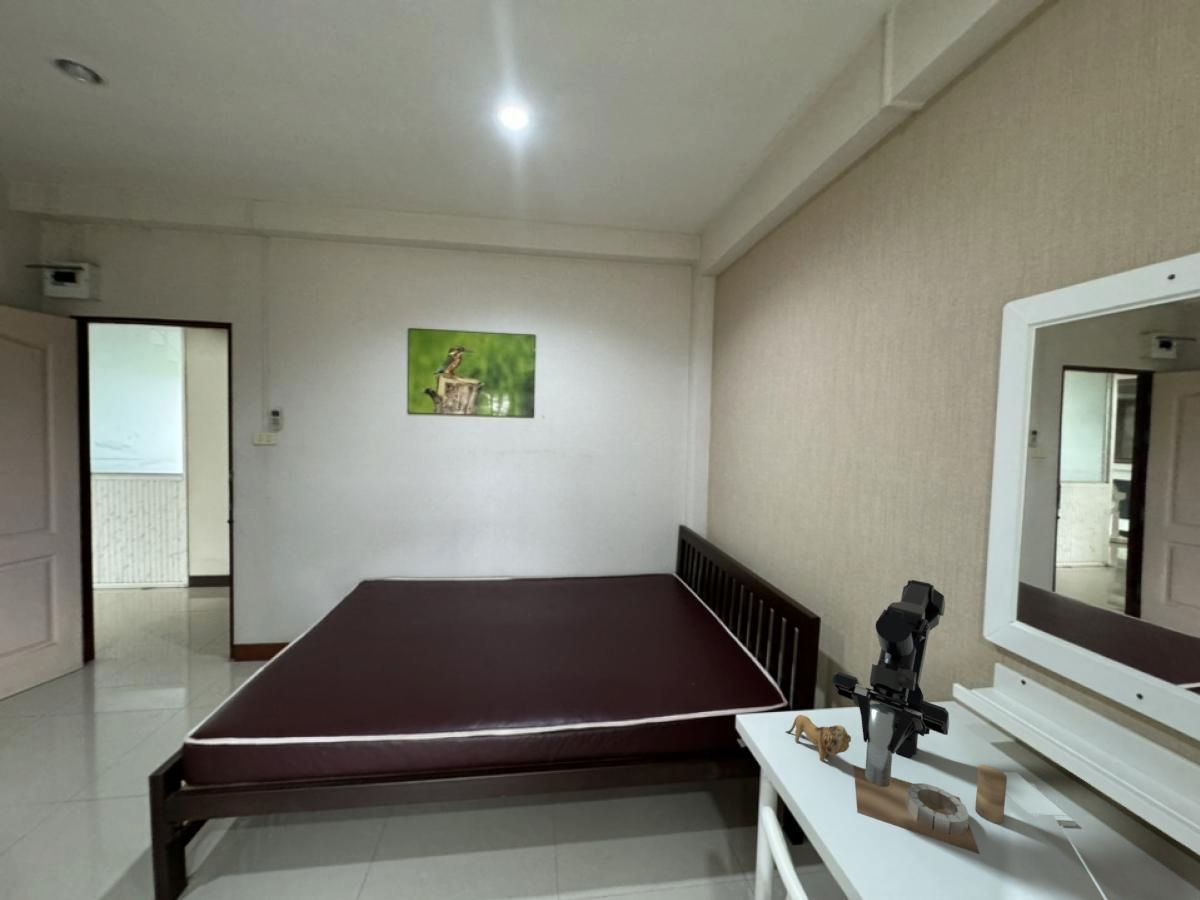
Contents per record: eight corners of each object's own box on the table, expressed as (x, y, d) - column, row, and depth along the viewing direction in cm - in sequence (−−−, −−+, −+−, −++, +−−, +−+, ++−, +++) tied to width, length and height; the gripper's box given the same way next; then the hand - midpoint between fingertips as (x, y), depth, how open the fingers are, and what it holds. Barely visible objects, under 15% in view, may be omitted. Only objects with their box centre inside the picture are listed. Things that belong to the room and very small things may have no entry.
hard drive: (978, 770, 100) (1032, 818, 88) (1017, 772, 100) (1076, 820, 88) (977, 778, 100) (1031, 827, 88) (1016, 779, 100) (1075, 829, 88)
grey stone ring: (903, 789, 94) (904, 777, 94) (959, 807, 90) (960, 794, 90) (910, 822, 86) (911, 809, 85) (972, 843, 82) (974, 829, 82)
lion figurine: (853, 769, 100) (856, 727, 100) (839, 779, 97) (842, 736, 97) (789, 731, 112) (792, 694, 112) (776, 739, 109) (778, 700, 109)
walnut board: (853, 770, 100) (853, 765, 100) (958, 802, 92) (959, 797, 92) (857, 817, 87) (857, 812, 87) (979, 859, 80) (980, 854, 80)
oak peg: (972, 808, 91) (976, 762, 91) (998, 816, 89) (1002, 769, 89) (978, 823, 87) (982, 775, 87) (1005, 832, 86) (1010, 783, 85)
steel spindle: (864, 768, 91) (869, 701, 90) (888, 775, 89) (894, 707, 88) (865, 781, 87) (871, 712, 87) (891, 789, 85) (896, 718, 85)
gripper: (837, 631, 96) (816, 707, 88) (952, 665, 84) (939, 756, 76) (845, 657, 102) (826, 730, 95) (953, 691, 90) (941, 779, 82)
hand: (878, 747), depth 87 cm, fingers closed on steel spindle, 4 cm apart
